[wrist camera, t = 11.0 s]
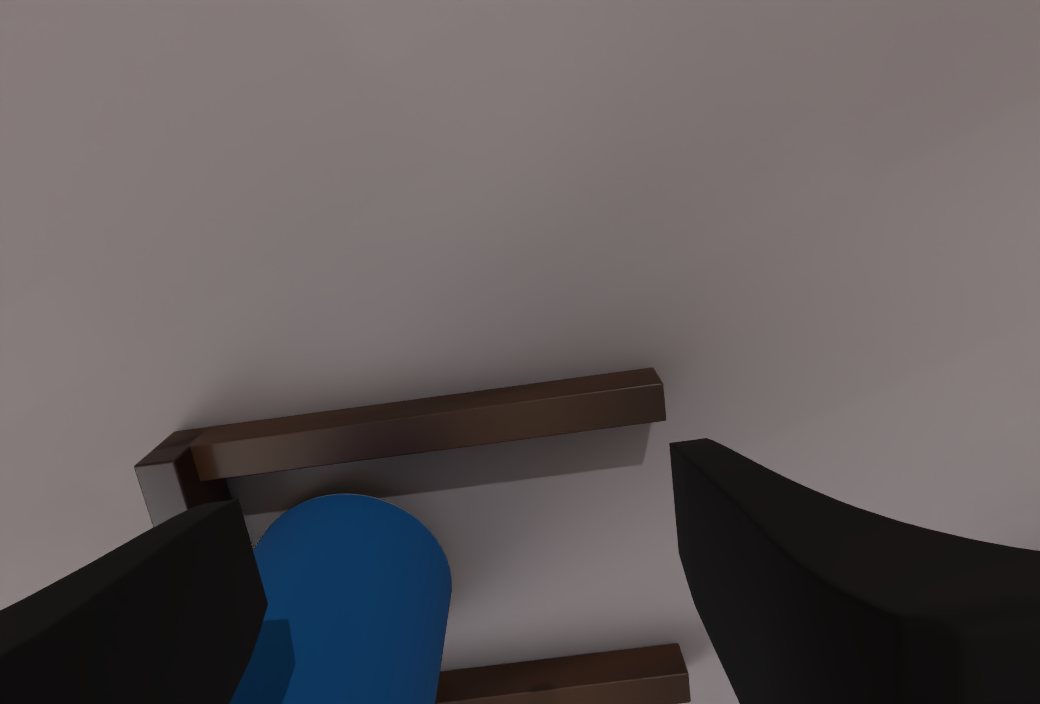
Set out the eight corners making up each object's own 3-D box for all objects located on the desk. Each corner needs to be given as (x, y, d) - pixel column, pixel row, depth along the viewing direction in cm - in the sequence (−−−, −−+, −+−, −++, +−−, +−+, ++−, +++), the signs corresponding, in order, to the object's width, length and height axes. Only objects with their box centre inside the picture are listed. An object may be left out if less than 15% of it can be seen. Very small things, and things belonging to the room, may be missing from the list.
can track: (653, 366, 22) (670, 394, 19) (681, 670, 25) (698, 726, 23) (173, 431, 22) (132, 465, 20) (261, 720, 26) (234, 780, 23)
